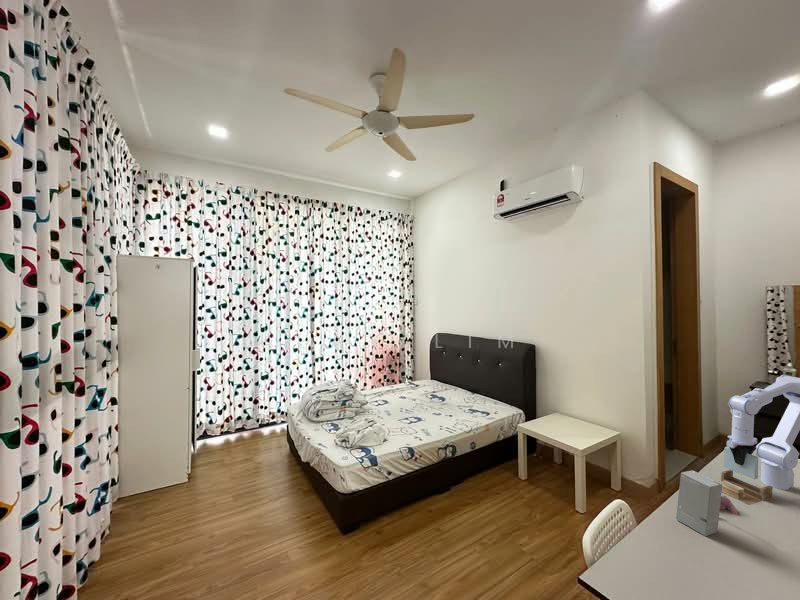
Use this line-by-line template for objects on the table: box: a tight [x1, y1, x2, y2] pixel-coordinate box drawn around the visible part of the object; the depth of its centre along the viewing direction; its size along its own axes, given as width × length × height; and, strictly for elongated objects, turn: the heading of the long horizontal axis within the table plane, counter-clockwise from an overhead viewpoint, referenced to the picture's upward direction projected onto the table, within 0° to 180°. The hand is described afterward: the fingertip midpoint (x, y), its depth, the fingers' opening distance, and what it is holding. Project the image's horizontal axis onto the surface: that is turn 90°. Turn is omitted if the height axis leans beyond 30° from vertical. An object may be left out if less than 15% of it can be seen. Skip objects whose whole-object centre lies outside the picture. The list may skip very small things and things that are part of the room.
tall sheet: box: [723, 446, 759, 480], centre depth 126 cm, size 2×9×8 cm, turn 18°
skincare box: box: [675, 470, 723, 537], centre depth 105 cm, size 8×7×16 cm
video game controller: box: [720, 493, 740, 516], centre depth 112 cm, size 10×5×7 cm, turn 85°
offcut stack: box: [719, 480, 745, 500], centre depth 121 cm, size 4×6×3 cm, turn 18°
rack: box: [720, 469, 774, 505], centre depth 122 cm, size 14×12×5 cm
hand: (741, 463), depth 126 cm, fingers closed on tall sheet, 2 cm apart
